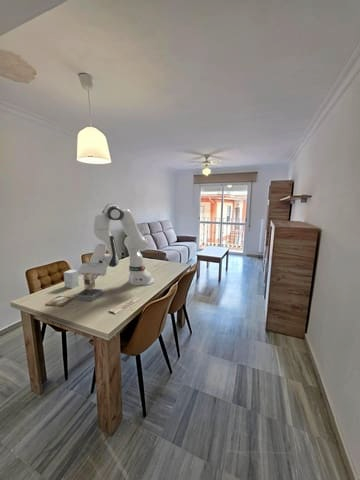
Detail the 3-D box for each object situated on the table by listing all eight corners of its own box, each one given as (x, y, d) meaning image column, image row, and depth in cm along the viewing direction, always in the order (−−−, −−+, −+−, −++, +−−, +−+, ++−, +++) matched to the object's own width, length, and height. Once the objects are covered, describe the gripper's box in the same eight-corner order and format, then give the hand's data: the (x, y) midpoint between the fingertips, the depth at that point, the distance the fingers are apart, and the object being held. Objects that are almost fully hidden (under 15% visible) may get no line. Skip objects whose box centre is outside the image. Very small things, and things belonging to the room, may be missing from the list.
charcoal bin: (102, 293, 150) (102, 289, 149) (92, 301, 137) (92, 297, 137) (86, 291, 152) (86, 288, 151) (75, 299, 139) (74, 295, 139)
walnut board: (74, 298, 141) (74, 297, 141) (62, 306, 129) (62, 305, 129) (59, 296, 142) (58, 295, 142) (45, 304, 131) (45, 303, 131)
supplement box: (79, 285, 164) (78, 270, 162) (72, 288, 157) (71, 273, 155) (71, 284, 166) (70, 269, 164) (64, 287, 159) (63, 272, 157)
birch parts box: (95, 286, 146) (94, 273, 144) (91, 289, 141) (89, 276, 139) (88, 286, 147) (87, 273, 145) (84, 289, 142) (83, 275, 140)
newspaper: (133, 298, 145) (133, 295, 145) (141, 300, 142) (141, 298, 142) (108, 312, 125) (108, 310, 124) (116, 316, 121) (116, 313, 121)
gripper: (80, 260, 149) (73, 277, 141) (106, 261, 146) (100, 279, 138) (84, 264, 154) (77, 281, 146) (109, 265, 151) (103, 283, 143)
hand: (88, 280), depth 142 cm, fingers closed on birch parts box, 5 cm apart
